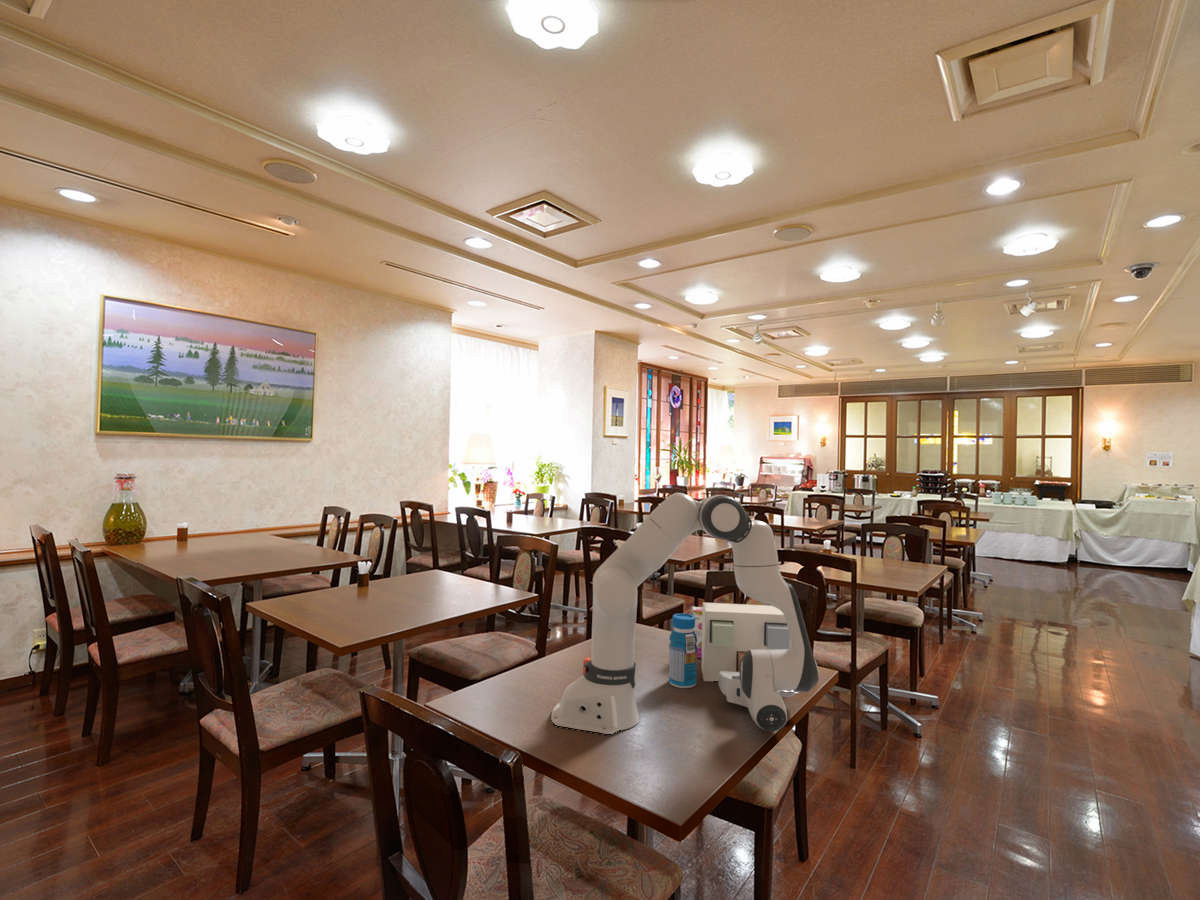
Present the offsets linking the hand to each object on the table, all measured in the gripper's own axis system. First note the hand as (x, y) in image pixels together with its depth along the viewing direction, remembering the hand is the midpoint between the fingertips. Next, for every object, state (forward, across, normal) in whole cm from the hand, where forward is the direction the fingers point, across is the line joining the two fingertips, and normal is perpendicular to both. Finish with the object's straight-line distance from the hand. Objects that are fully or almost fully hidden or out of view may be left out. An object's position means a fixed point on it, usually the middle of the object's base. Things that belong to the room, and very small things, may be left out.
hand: (752, 672), depth 167 cm
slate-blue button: (+6, -8, -6) cm, 12 cm away
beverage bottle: (+4, +20, +6) cm, 21 cm away
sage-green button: (+6, +8, -6) cm, 12 cm away
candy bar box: (+28, +11, +6) cm, 31 cm away
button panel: (+12, 0, +6) cm, 14 cm away
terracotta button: (+6, 0, +3) cm, 7 cm away
